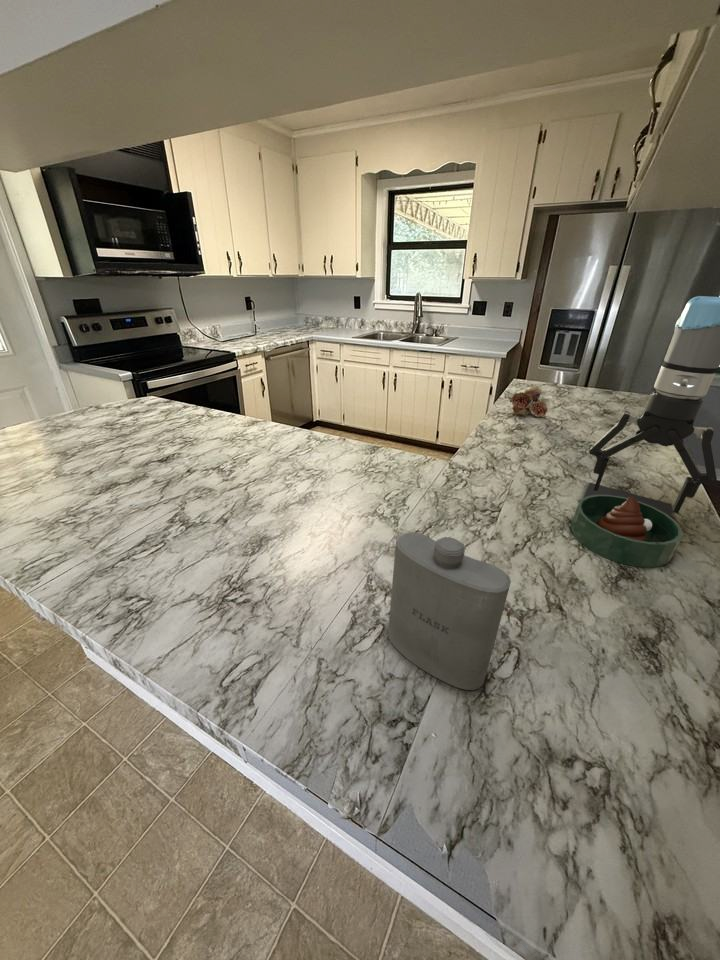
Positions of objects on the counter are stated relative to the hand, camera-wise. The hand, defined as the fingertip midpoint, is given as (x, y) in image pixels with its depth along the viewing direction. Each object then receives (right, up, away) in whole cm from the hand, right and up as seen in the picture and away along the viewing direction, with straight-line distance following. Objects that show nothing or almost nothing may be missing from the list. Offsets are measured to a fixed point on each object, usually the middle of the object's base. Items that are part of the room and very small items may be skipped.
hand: (634, 498), depth 79 cm
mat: (+10, -2, +18) cm, 21 cm away
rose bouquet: (+11, +30, +78) cm, 84 cm away
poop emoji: (0, -8, +4) cm, 10 cm away
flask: (-44, -22, -22) cm, 54 cm away
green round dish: (0, -9, +5) cm, 10 cm away
